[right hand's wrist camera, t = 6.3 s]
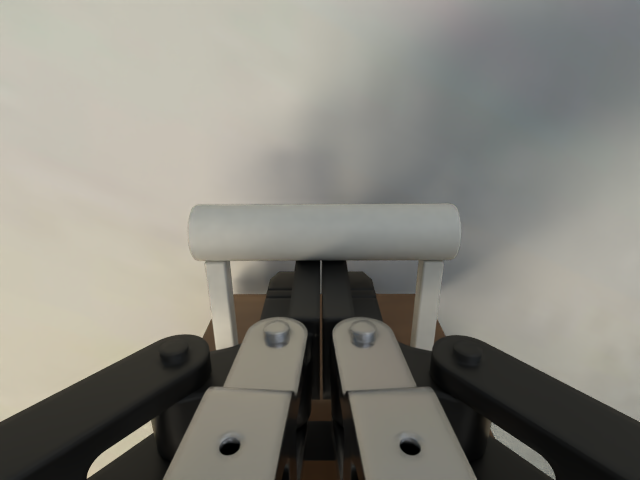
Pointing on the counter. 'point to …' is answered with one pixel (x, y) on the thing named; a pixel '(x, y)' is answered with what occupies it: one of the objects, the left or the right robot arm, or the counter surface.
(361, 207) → the drawer
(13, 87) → the counter surface
